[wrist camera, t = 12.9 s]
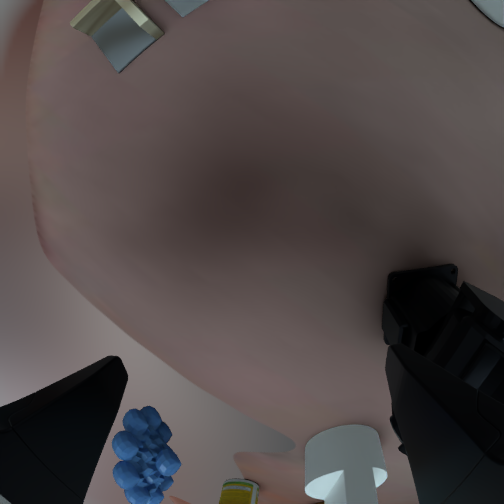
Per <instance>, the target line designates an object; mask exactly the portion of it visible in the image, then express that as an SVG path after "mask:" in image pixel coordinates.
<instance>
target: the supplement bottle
mask: <svg viewBox="0 0 504 504" xmlns="http://www.w3.org/2000/svg"><path fill="white" fill-rule="evenodd" d="M258 494H259V486H258V485H257V484H256V483H254V482H252V481H249V480H245V479H229V480H226V481H225V482H224V484H223V488H222V493H221V497H220V501H219V504H257V501H258Z"/></svg>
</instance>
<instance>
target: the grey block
mask: <svg viewBox="0 0 504 504" xmlns="http://www.w3.org/2000/svg"><path fill="white" fill-rule="evenodd" d="M165 1H166V2H167V3H168V4H169V5H170V6H171V7H172V8H173V9H174V10H175V11H176V12H177V13H178V14H180V15H181V16H182V17H184V16H186V15H187V14H189V13H190V12H192V11H193V10H195V9H196V8H198V7H199V6H201V5H202V4H204V3H205V2H207V1H208V0H165Z"/></svg>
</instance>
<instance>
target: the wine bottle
mask: <svg viewBox="0 0 504 504" xmlns="http://www.w3.org/2000/svg"><path fill="white" fill-rule="evenodd" d="M471 1H472V2H473V3H474V4H475V5H476V6H477V7H478V8H479V9H480V10H481V11H482V12H483V13H484V14H485V15H486V16H487V17H489V18H490V19H491V20H492V21H494V22H495V23H497V24H498V25H500V26H502V27H503V28H504V0H471Z"/></svg>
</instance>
